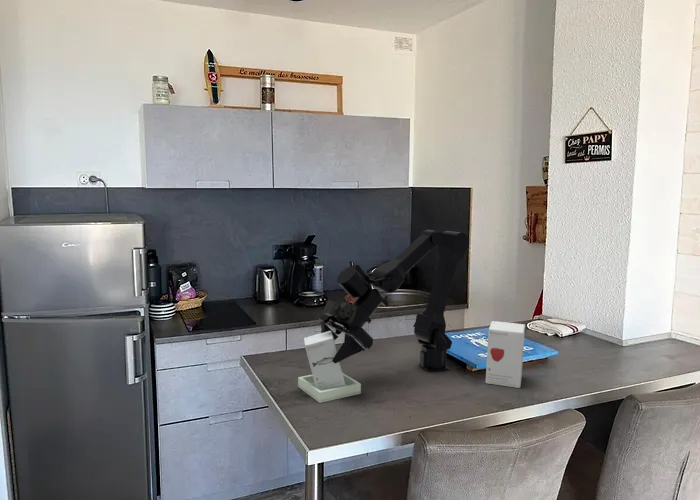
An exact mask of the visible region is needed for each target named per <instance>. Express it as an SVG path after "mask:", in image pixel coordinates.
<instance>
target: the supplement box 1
mask: <svg viewBox="0 0 700 500" xmlns="http://www.w3.org/2000/svg"><path fill="white" fill-rule="evenodd" d="M303 342H304V348H305V351H306V352H305V353H306V356H307V359H308V363H309V367H310V371H311V373H312V374H311V375H313V379H314V383H315V386H316V388H318V389H319V390H320V391H323V390H328V389H332V388H336V387H340V386H344V385H345V381H344V377H343V374H342V373H343V370H342V368H341V367H342V366H341V363H340V362H341V361H340V362H338V363H336V364H335V363H334V362H333V361H332V360H333V358H334V357H335V355H336V353H337V352H338V350H337V347H336V343H335V340H334V338H333V335H332V331H328V332H324V333H321V332H320V333H318V334H313V335H310V336H309V335H308V336H305V337H304V338H303Z"/></svg>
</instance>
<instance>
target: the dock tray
mask: <svg viewBox="0 0 700 500" xmlns="http://www.w3.org/2000/svg"><path fill="white" fill-rule="evenodd" d="M342 374H343V377H344V381H345V385H344V386H340V387H336V388H332V389H328V390H323V391H320V390H319V389H318V388H316V386H315V383H314V379H313V375H312V374H309V375H303V376H298V377H297V387H298V388H299V389H301V390H302V391H303V392H304V393H305V394H307V395H308V396H310V397H311V398H313V399H314V400H315V401H316V402H318V403H325V402H330V401H333V400H334V401H335V400H338V399H342V398H347V397H352V396H357V395H361V394H362V384H361V383H360V382H359V381H357V380H356V379H354V378H352V377H351V376H349V375H347V374H346V373H344V372H342Z"/></svg>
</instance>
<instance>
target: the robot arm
mask: <svg viewBox="0 0 700 500" xmlns="http://www.w3.org/2000/svg"><path fill="white" fill-rule="evenodd" d="M436 246H437V247H436ZM469 246H470V239H469V238H468V235H467V234H466V233H464V232H460V231H459V232H458V231H451V230H445V231H443V232H439V231H438V230H432V229H425V230H423V231H422V232H421V233H420V236H418V237H417V238H416V239H415V240H414V241H412V243H410V244H409V245H408V246H407V247H406V248H405V249H403V251H402V252H400V254H398V255H397V256H396V257H395V258H394V259H392V260H391V261H390V260H389V261H388V262H385V263H383V264H381V265H379V266H378V267H376V268H375V269H373V271H372V272H369V273H366V272H364V270H363V269H362V267H361V266H360V265H359V264H357V263H353V264H352V265H351V266H349V267H347V268H345V269H343V270H342V271H340V273H339V274H337V275H338V276H337V278H336V282H337V284H338V285H339V286H340V287H341V288H342V289H343V290H344V291H345V292H346V293H347V294H348V295H349V296H350V297H351V298H355V299H354V301H353V302H352V303H350V302H348V303H347V302H344V301H343V302H342V303H340V304H339V303H336V302H334V301H331V300H330V299H327V302H326V304H325V307H324V309H323V312H324V313H322V314H321V315H320V316H319V318H318V320H319V324H320V327H321V330H320V333H324V332H328V331H332V335H333V338H334V341H336V340H337V339H338V338H339V335H341V334H344V341H343V343H342V345H341V346H340V347H339V349H338V350H337V353H336V355H335V357H334V358H333V360H332V361H333V362H334V363H335V364H336V363H338V362H342V361H344V360H346V359H347V358H349V357H351V356H354V355H356V354H358V353H361V352H365V351H366V350H367V351H370V350H371V348H372V347H373V345H374V340H375V339H374V338H373V337H372V336H371V335H370V334H369V333H368V331H366V330H365V328H364V325H365V324H366V323H367V324H370V323H372V321H373V320H372V319H371V317H372V315H373V314H374V313H375V311H376V310H377V309H378V308H379V307H380V305H381V306H384V307H389V301H388V295H386V294H382V293H381V292H380V291H382V292H384V293H390V294H392V293H394V292H396V291H398V289H399V288H400V286H401V285H402V284H403V282H404V281H405V277H406V275H407V273H408V272H409V271H410V270H411V269H412V268H414V266H415V265H416V264H418V263H419V262H420V261H421V260H422V259H423V258H424V257H425V256H426V255H427V254H428V253H429V252H430V251H431V250H432V249H434V248H435V247H436V248H437V249H436V251H437V256H438V259H439V260H438V265H437V268H436V273H435V275H434V279H433V284H432V286H431V290H430V294H429V299H428V301H427V305H426V309H425V310H424V311H423V312H422V313H419V312H418V313H417V314H416V317H415V322H414V324H413V325H412V327H413V328H414V330H413V334H414V335H415V338H416V339H417V342H418V344H420V345H421V350H420V351H419V362H418V365H419V366H420V367H421V368H422V369H424V370H425V371H426V372H436V371H446V370H447V371H448V370H449V367H448V366H447V350H451V348H452V345H453V341H452V340H451V338H450V337H449V336H448V335H447V334H446V328H447V324H446V319H445V315H444V314H445V310H446V306H447V303H448V300H449V294H450V290H451V287H452V283H453V279H454V276H455V272H456V268H457V265H458V264H459V263H460V262H461V261H462V260H463V258H464V257H466V253H467V251H468V248H469ZM372 287H373V288H372Z"/></svg>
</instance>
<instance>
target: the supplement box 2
mask: <svg viewBox="0 0 700 500" xmlns="http://www.w3.org/2000/svg"><path fill="white" fill-rule="evenodd" d="M525 330H526V324H525V323H524V324H523V323H522V324H521V323H512V322H506V321H505V322H504V321H497V320H496V321H493V320H492V321H490V326H489V328H488V334H487V350H486V351H487V352H486V364H485V365H486V367H485V368H486V369H485V370H486V371H485V384H490V385H496V386H502V387H503V386H504V387H510V388H516V389H521V384H522V377H523V376H522V375H523V374H522V373H523V363H524V362H523V360H524V359H523V358H524V348H525V347H524V346H525V333H526V332H525Z"/></svg>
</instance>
